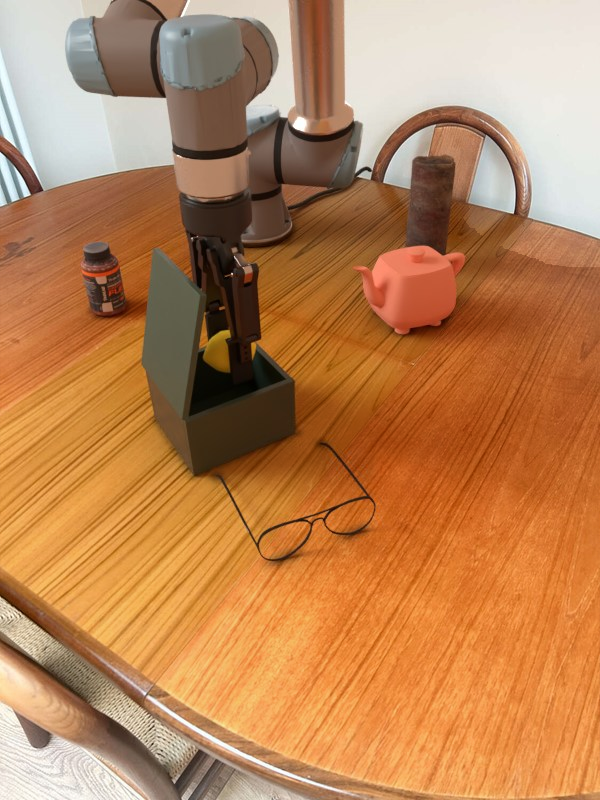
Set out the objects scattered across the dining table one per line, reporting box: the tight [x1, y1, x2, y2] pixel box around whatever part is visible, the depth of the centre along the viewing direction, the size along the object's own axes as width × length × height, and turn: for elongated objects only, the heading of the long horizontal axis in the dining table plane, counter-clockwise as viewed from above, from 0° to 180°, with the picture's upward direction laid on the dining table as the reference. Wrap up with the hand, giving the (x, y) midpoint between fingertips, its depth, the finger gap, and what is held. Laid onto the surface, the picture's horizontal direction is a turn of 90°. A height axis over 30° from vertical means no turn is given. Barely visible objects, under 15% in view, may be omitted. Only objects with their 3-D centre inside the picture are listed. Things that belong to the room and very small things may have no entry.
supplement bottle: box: [80, 241, 127, 317], centre depth 107 cm, size 6×6×11 cm
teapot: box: [352, 246, 466, 335], centre depth 104 cm, size 20×12×12 cm, turn 114°
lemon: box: [203, 330, 257, 373], centre depth 81 cm, size 7×5×5 cm
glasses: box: [215, 442, 377, 562], centre depth 76 cm, size 14×15×5 cm
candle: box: [404, 153, 457, 256], centre depth 114 cm, size 8×7×20 cm
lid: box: [140, 247, 207, 420], centre depth 74 cm, size 15×13×1 cm
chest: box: [144, 341, 296, 477], centre depth 84 cm, size 15×13×9 cm
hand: (231, 367), depth 83 cm, fingers closed on lemon, 5 cm apart
